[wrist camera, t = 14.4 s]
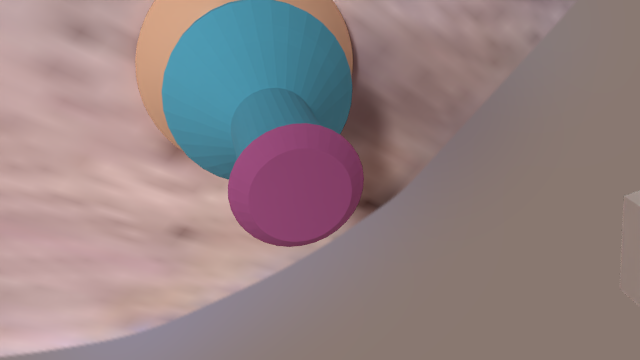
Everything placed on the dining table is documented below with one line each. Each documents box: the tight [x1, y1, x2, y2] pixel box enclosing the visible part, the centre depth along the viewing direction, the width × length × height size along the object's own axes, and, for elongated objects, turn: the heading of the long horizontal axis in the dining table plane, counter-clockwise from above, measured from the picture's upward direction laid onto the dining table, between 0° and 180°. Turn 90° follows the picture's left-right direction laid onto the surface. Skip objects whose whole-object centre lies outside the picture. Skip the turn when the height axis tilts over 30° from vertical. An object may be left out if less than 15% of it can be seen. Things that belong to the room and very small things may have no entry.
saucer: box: [135, 0, 353, 151], centre depth 32 cm, size 12×12×1 cm
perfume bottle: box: [162, 0, 364, 247], centre depth 25 cm, size 9×9×15 cm
